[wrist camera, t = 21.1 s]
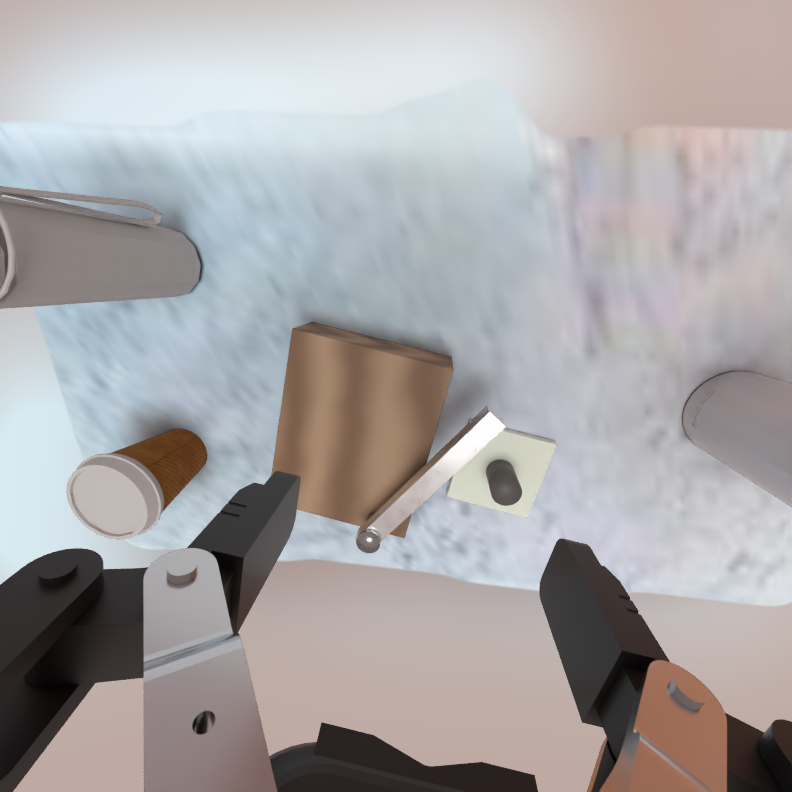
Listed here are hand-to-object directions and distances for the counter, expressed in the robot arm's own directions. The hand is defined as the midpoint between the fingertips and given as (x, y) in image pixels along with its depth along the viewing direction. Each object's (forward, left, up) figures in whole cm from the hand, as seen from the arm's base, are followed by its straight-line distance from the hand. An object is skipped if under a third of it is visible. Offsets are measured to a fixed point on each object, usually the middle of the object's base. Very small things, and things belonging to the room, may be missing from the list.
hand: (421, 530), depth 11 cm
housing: (+6, +10, -32) cm, 34 cm away
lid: (-11, +12, -32) cm, 36 cm away
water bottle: (+30, -3, -32) cm, 44 cm away
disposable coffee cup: (+28, +21, -32) cm, 47 cm away
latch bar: (-2, +11, -24) cm, 26 cm away
